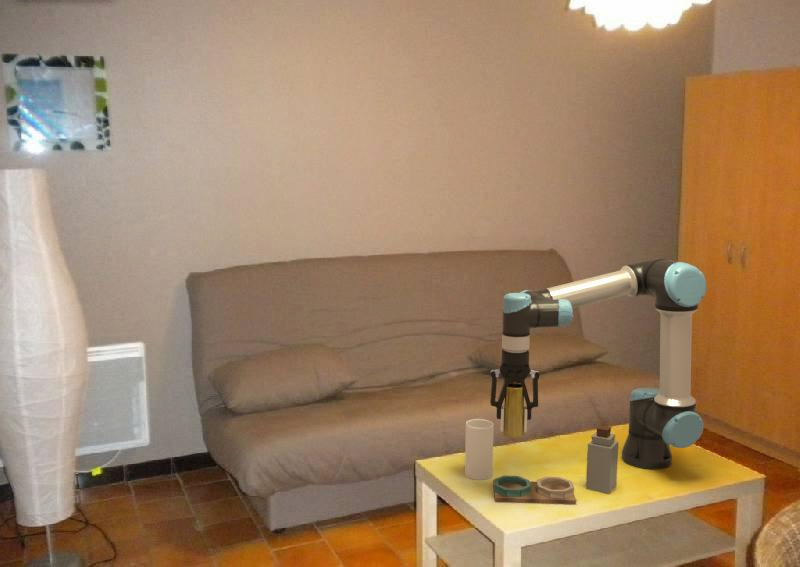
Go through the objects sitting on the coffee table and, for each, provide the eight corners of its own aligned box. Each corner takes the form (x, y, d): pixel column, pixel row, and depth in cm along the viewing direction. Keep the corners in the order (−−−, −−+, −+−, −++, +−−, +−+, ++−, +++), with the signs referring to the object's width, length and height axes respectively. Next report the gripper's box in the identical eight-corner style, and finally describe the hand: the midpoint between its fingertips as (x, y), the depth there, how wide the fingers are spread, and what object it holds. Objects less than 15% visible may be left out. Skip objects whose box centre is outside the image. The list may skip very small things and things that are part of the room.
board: (569, 486, 228) (570, 475, 227) (575, 504, 216) (576, 493, 215) (493, 484, 229) (493, 473, 229) (495, 501, 217) (495, 491, 217)
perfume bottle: (609, 494, 222) (611, 433, 220) (585, 489, 226) (588, 428, 223) (616, 485, 228) (619, 426, 225) (593, 480, 232) (596, 422, 229)
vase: (523, 439, 217) (525, 389, 214) (501, 437, 218) (502, 387, 215) (524, 431, 222) (526, 382, 220) (503, 430, 224) (504, 381, 221)
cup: (496, 471, 238) (497, 421, 236) (487, 481, 231) (488, 429, 228) (470, 467, 242) (471, 417, 239) (461, 477, 234) (461, 425, 232)
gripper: (548, 346, 219) (545, 426, 223) (480, 345, 221) (479, 424, 224) (551, 353, 212) (548, 435, 216) (481, 352, 213) (480, 433, 217)
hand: (513, 430), depth 220 cm, fingers closed on vase, 6 cm apart
